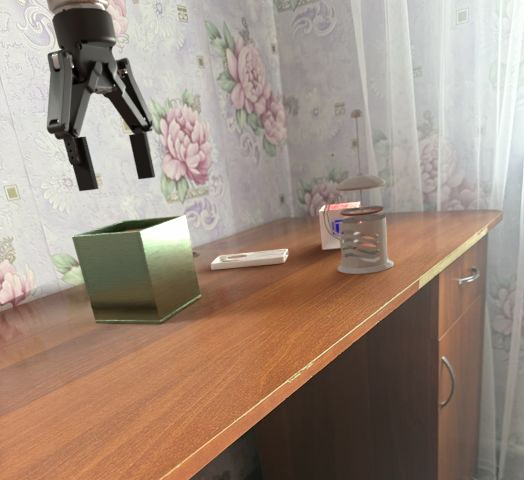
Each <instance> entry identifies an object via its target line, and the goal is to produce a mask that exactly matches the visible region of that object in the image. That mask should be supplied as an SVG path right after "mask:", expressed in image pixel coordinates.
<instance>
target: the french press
mask: <svg viewBox="0 0 524 480" xmlns="http://www.w3.org/2000/svg"><path fill="white" fill-rule="evenodd" d="M349 116H350V119H355V127H356V143H357V144H356V145H357V146H356V147H357V157H358V158H357V161H358V173H357V174H356V175H352V176H350V177H348V178H346V179H344V180H342V181H341V182H340V183H338V184H337V186H335V189H336V191H338V192H353V191H359V193H360V207H355V208H354V207H353V208H352V209H351V208H348V209H344V210H342V211H341V212H340V213H341V215H343V216H351V217H349V218H345V219H343V220H342V223H341V221H339V224H340V235H339V234H337V233H336V232H335V231H334V230H333V229H332V227H331V225H330V221H329V207H330V205H332V203H333V201H334V200H335V199H336V202H337V203H336V204H341V203H343V195H341V194H337V195H334V196H332V197H331V198H330V199H329V200H327V202H326V203H325V205H326V206H325V209H324V213H323V217H324V224H325V227H326V229H327V231H328V233H329V234H330V235H332V234H331V233H330V232H329V230H328V228H327V226H326V222H325V210H326V208H327V205H329V206H328V210H327V218H328V223H329V226H330V228H331V230H332V231H333V232H334V233H335V234H336V235H338V236H340V238H341V239H339V238H337V237H335V236H333V235H332V236H333V237H335V238H336V239H338V240H339V241H340V246H341V248H340V257H341V263H340V265H339V266H338V267H337V268H336V270H337V271H338V272H340V273H343V274H351V275H362V274H373V273H378V272H379V273H380V272H382V271H386V270H389V269H390V268H392V267H394V262H393V260H391V259H390V258H389V257H388V238H387V237H388V233H387V217H386V215H385V214H378V213H381V212H383V210H384V208H385V206H383V205H377V204H375V205H374V204H373V205H368V204H367V205H366V206H365V205H363V194H362V193H363V191H362V190H370V189H371V190H372V189H376V188H381V187H384V186H385V185H386V180H385V179H383V178H381V177H380V176H376V175H373V174H366V173H365V174H364V173H362V172H361V159H360V142H359V123H358V119H359V118H362V117H363V111H362V110H360V109H353V110H352V111H351V112H350V114H349ZM339 197H340V201H339ZM352 216H354V217H352ZM359 222H361V223H359ZM342 232H343V236H342ZM355 232H359V233H360V234H357V235H353V233H355ZM377 234H378V235H377ZM365 236H366V237H371V238H365ZM342 240H343V241H344V243H343V242H342ZM354 240H359V241H358V242H356V243H355V242H354ZM360 244H361V245H360ZM363 244H372V245H373V246H370V245H363ZM343 247H344V248H343ZM355 248H356V249H355Z"/></svg>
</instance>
